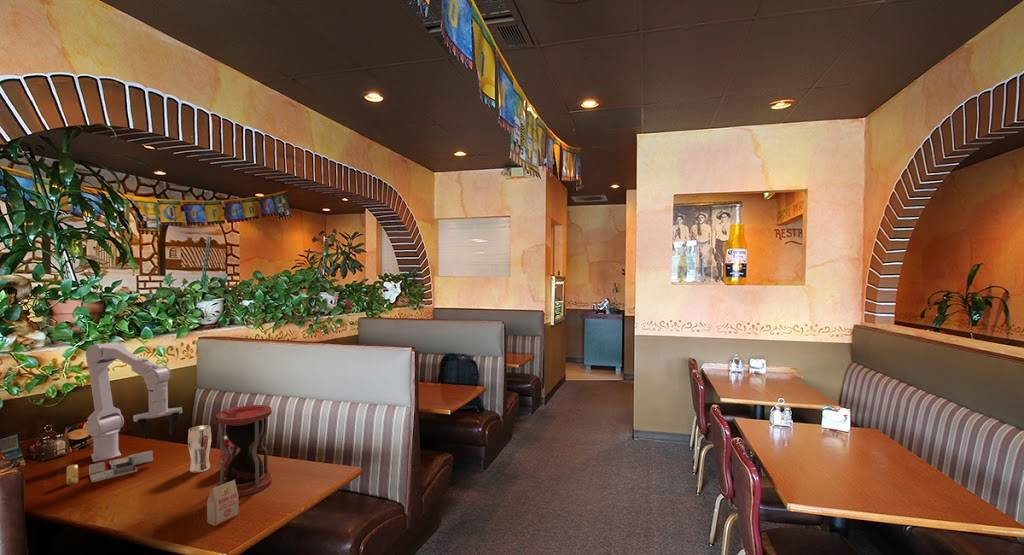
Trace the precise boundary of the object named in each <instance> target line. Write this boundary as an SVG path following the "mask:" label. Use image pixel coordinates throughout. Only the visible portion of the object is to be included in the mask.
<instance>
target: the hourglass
mask: <svg viewBox="0 0 1024 555" xmlns="http://www.w3.org/2000/svg"><path fill="white" fill-rule="evenodd" d="M272 410H273V409H272V407H271V406H269V405H264V404H249V405H241V406H235V407H231V408H226V409H224V410H222V411H219V412H218V413H217V414H216V415H215V422H216V423H218V424H219V447H220V446H221V448H222V449H223V450H224V451H225V458H224V461H223V462H222V464H221V466H220V467H219V482H218V483H217V484H216V487H217V486H220V485H222V484H225V483H227V482H230V481H232V480H235V483H236V488H237V491H238V498H239V497H244V496H248V495H251V494H254V493H255V494H256V493H258V492H260V491H262V490H264V489H266V488H268V487H269V486H270V485H271V484H272V482H273V476H272V473H270V472H269V471H268V469H269V468H268V464H269V463H268V462H269V461H268V457H269V456H268V450H267V448H265V446H264V440H265V438H266V436H267V433H268V418H269V417H270V416H271V414H272ZM224 428H225V429H224ZM262 431H263V432H262ZM261 433H262V434H261ZM225 434H226V435H227V438H228V439H229V440H230V441H231V442H232V443H233V451H232V454H231V461H230V462H229V464H228V466H227V470H226V472H225V471H224V467H225V464H226V463H227V461H228V460H229V456H230V452H229V449H228V448H227V447H225V445H224V436H225ZM260 435H261V436H260ZM252 445H253V446H252ZM251 446H252V448H251V449H250V447H251ZM258 446H259V449H260V450H261V451H262V452H263V460H262V458H261V456H260V455H259V454H257V448H258ZM238 447H239V448H240V451H239V452H238V453H237V454H236V451H237V448H238ZM235 454H236V455H235ZM225 473H226V475H225Z"/></svg>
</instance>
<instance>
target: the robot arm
mask: <svg viewBox="0 0 1024 555" xmlns="http://www.w3.org/2000/svg"><path fill="white" fill-rule="evenodd" d="M84 353H85V359H86V364H87V367H88V373H89V379H90V386H91V387H90V388H91V392H92V394H91V395H92V398H93V399H92V401H93V405H94V406H93V407H94V411H93V412H92V413H90V415H89V416H88V417H87V424H86V431H87V433H88V435H89V436H91V437H93V438H92V439H93V441H92V442H93V453H91V454H90V457H91V459H92V463H93V462H94V463H96V462H100V461H104V460H109V459H113V458H118V457H121V456H122V454H121V451H120V450H119V432H120V431H121V428H122V427H123V426H124V424H125V419H124V416H123V414H122V412H121V409H120V408H118V407H115V406H114V402H113V396H112V395H113V394H112V391H111V389H112V388H111V383H110V376H109V370H108V369H109V368H108V367H109V366H110V365H111V364H112V363H113V362H115V361H116V360H119V361H120V362H122V363H124V364H127V365H128V366H130V367H131V371H132V372H134V373H136V374H137V375H138V376H141V377H142V378H143V380H144V383H145V384H146V388H147V390H148V412H142V413H138V414H134V415H133V417H132V419H133V422H134V423H135V422H137V423H138V425H139V426H140V428H141V431H142V433H143V438H144V440H148V422H147V420H149V419H154V418H160V417H165V416H169V430H168V431H169V434H170V435H173V434H174V430H175V427H176V424H177V421H178V420H179V418H180V414H183V407H181V406H180V407H179V406H178V407H172V408H169V407H168V406H169V405H168V404H169V403H168V402H169V401H168V400H169V394H168V393H169V389H168V387H169V386H168V383H169V382H168V381H170V380H171V378H172V371H171V369H170V368H169V367H168V366H159V365H158V364H156V363H154V362H152V361H151V360H150V359H149V358H147V357H140V358H139V357H138V356H137V355H135V354H133V352H131V351H130V350H128V349H127V346H126V344H124V343H122V341H119V340H115V341H111V342H106V343H98V344H91V345H89V346H88V348H86V350H85V352H84Z"/></svg>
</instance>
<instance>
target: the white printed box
mask: <svg viewBox="0 0 1024 555" xmlns="http://www.w3.org/2000/svg"><path fill="white" fill-rule="evenodd" d="M239 508H240V507H239V497H238V491H237V488H236V483H235V480H232V481H230V482H227V483H225V484H222V485H220V486H217V485H216V486H215V487H213V488H210V490H209V495H208V498H207V500H206V521H207V522H206V523H207V524H209V525H211V526H214V527H216V526H218V525H221V524H222V523H224V522H227V521H229V520H230V519H233V518H235V517H238V516H239V515H240V514H239Z"/></svg>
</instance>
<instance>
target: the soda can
mask: <svg viewBox="0 0 1024 555" xmlns="http://www.w3.org/2000/svg"><path fill="white" fill-rule="evenodd" d="M224 445H225V447H227V448H228V449H229V452H230V456H229V460H228V461H227V463H226V464H225V467H224V473H226V470H227V466H228V464H229V462H230V461H231V454H232V451H233V443H232V442H231V441H230V440H229V439H228V438H227V435H225V434H224ZM239 451H240V448H239V447H238V448H237V451H236V454H237V453H238V452H239ZM236 454H235V455H236ZM224 458H225V451H224V450H223V449H222V448H221V446H220V445H219V462H220V463H219V464H220V465H219V466H220V467H221V464H222V462H223V461H224Z"/></svg>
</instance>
